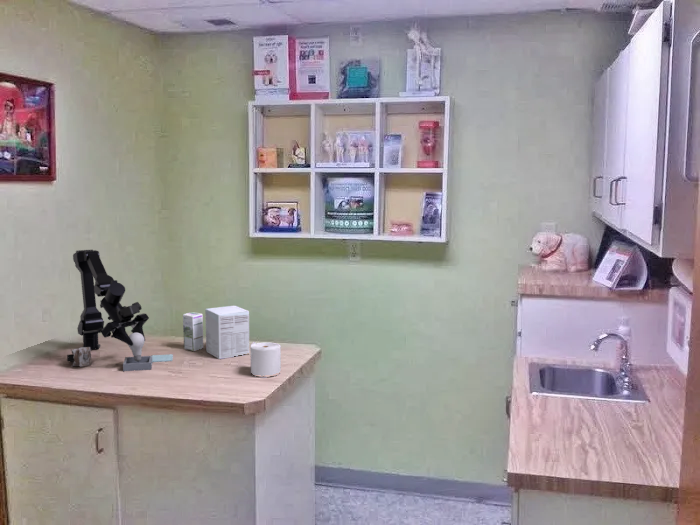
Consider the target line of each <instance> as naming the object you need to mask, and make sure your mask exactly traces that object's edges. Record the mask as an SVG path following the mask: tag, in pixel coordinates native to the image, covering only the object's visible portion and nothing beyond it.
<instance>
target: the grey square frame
mask: <svg viewBox="0 0 700 525" xmlns="http://www.w3.org/2000/svg"><path fill="white" fill-rule="evenodd" d="M152 367H153V362H152V356H151V355H141V360H140V361H139V362H137V361H135V360H134V356H125V357H124V360H123V363H122V371H123V372H132V371H133V372H136V371H148V370H149V371H150V370H152ZM134 370H135V371H134Z"/></svg>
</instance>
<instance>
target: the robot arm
mask: <svg viewBox="0 0 700 525" xmlns="http://www.w3.org/2000/svg"><path fill="white" fill-rule="evenodd" d="M72 260H73V262H74V266H75V267H76V270H78V271H79V273H80V279H81V280H80V282H81V283H80V284H81V292H82V293H81V294H82V302H83V310H82V312H81V314H80V320H79V323H78V325H77V328H76V329H77V334H78V335H80V336H82V344H83V345H82V346H81V348H84V347H90V350H91V351H94V350H95V351H96V350H100V348H101V346H102V345H101V344H99V343H100V342H99V334H101V335H102V336H103V337H104V338H109V337H111V338H114V339H117V340H118V341H121V342H123V343H124V344H126V345H130V346H132V345H133V342H132V340H131V339H130V337H129V334H128V332H127V331H126V328H128V327H131V330H130V332H131V334H132V333H136V332H137V333H140V334H142V335H143V337H144V339H145V340H146V337H145V332H144V329H143V326H144V325H145V323H146V322H147V321H148V320H150V317H149V316H148V314H147V313H141V310H142V306H141V304H140V303H139V301H136V302H133V303H132V304H130V305H128V306H126V305H124V306H123V305H122V303H121V301H122V299H123V297H124V294H125V292H126V287H125V286H124V285H123V284H122V283H120V282H119V281H118V280H115V279H114V278H113V277H112V276H111V275H110V274H108V273H107V271H106V268H105V267H104V263H103V262H102V260H101V257H100V251H99V250H96V249H95V250H93V249H82V250H81V249H80V250H79V249H78V250H76V251H75V253H73V255H72ZM96 296H97V297H102V299H100V302H99V303H100V304H99V306H100V308H101V309H102V308H103V309H104V310H105V312H106V314H107V315H108V317H107V319H108V320H109V322H107V323H106V325H105V320H104V319H103V315H102V314H103V313H102V312H101V311H99V309H98V308H97V301H96V299H97V298H96ZM135 314H137V315H136V316H135ZM110 320H111V321H110ZM104 325H105V326H104Z"/></svg>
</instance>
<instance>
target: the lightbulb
mask: <svg viewBox="0 0 700 525" xmlns="http://www.w3.org/2000/svg"><path fill="white" fill-rule="evenodd" d="M128 336H129V337H130V339H131V340H132V342H133V345H132V346H130V345H128V344H127V345H128V348H129V349H130V350H131V353H132V357H134V360H135V361H137V362H139V361H140V360H141V356H142V352H143V350H142V349H143V347H144V345H145V342H146V338H145V339H144V337H143V335H142V334H140V333H137V332H136V333H132V332H131V333H130V334H128Z"/></svg>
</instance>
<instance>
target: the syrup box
mask: <svg viewBox="0 0 700 525" xmlns="http://www.w3.org/2000/svg"><path fill="white" fill-rule="evenodd" d="M203 318H204V317H203V313H199V312H194V311H192V312H187V313H183V314H182V324H183V349H184V350H187V351H192V352H197V351H199V349H200V350H203V349H204V322H203V320H204V319H203ZM202 348H203V349H202ZM196 350H197V351H196Z"/></svg>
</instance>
